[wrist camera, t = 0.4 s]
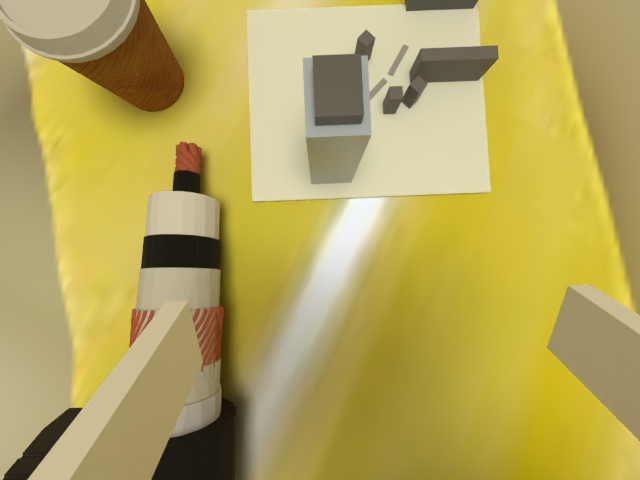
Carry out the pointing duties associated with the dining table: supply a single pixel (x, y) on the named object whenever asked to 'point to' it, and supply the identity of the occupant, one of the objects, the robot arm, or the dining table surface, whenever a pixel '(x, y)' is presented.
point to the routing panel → (374, 98)
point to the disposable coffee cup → (101, 45)
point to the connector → (336, 115)
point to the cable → (203, 297)
